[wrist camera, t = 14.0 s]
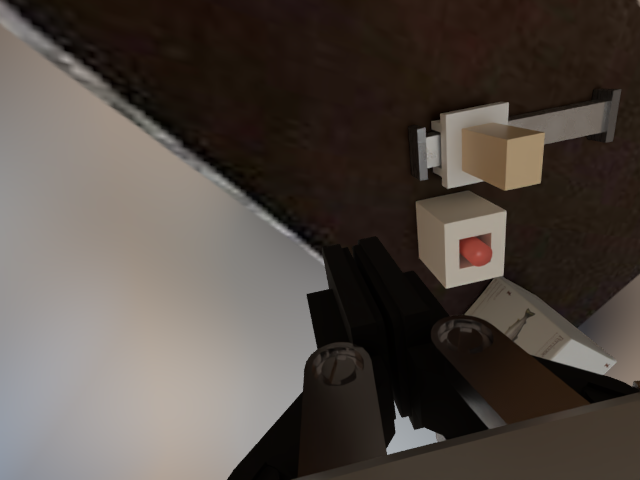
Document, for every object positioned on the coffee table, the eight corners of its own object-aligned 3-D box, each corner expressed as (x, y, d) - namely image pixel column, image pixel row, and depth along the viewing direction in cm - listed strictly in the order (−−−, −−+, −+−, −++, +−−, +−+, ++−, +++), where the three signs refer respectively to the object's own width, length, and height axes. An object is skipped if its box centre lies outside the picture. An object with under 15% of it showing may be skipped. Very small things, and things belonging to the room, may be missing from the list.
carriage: (430, 111, 36) (488, 123, 27) (488, 100, 37) (565, 107, 27) (433, 180, 39) (486, 211, 30) (487, 169, 40) (556, 197, 30)
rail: (408, 126, 37) (417, 129, 35) (600, 88, 38) (621, 89, 36) (411, 175, 39) (420, 180, 37) (593, 137, 40) (612, 141, 38)
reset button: (445, 228, 38) (470, 248, 34) (465, 223, 39) (492, 243, 34) (446, 246, 39) (470, 268, 35) (465, 242, 40) (492, 263, 35)
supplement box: (495, 271, 45) (574, 336, 34) (535, 294, 48) (622, 362, 36) (458, 316, 47) (521, 392, 36) (498, 336, 50) (569, 414, 38)
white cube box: (415, 201, 40) (444, 224, 34) (474, 188, 41) (513, 209, 34) (419, 257, 43) (446, 288, 37) (473, 245, 43) (510, 274, 37)
